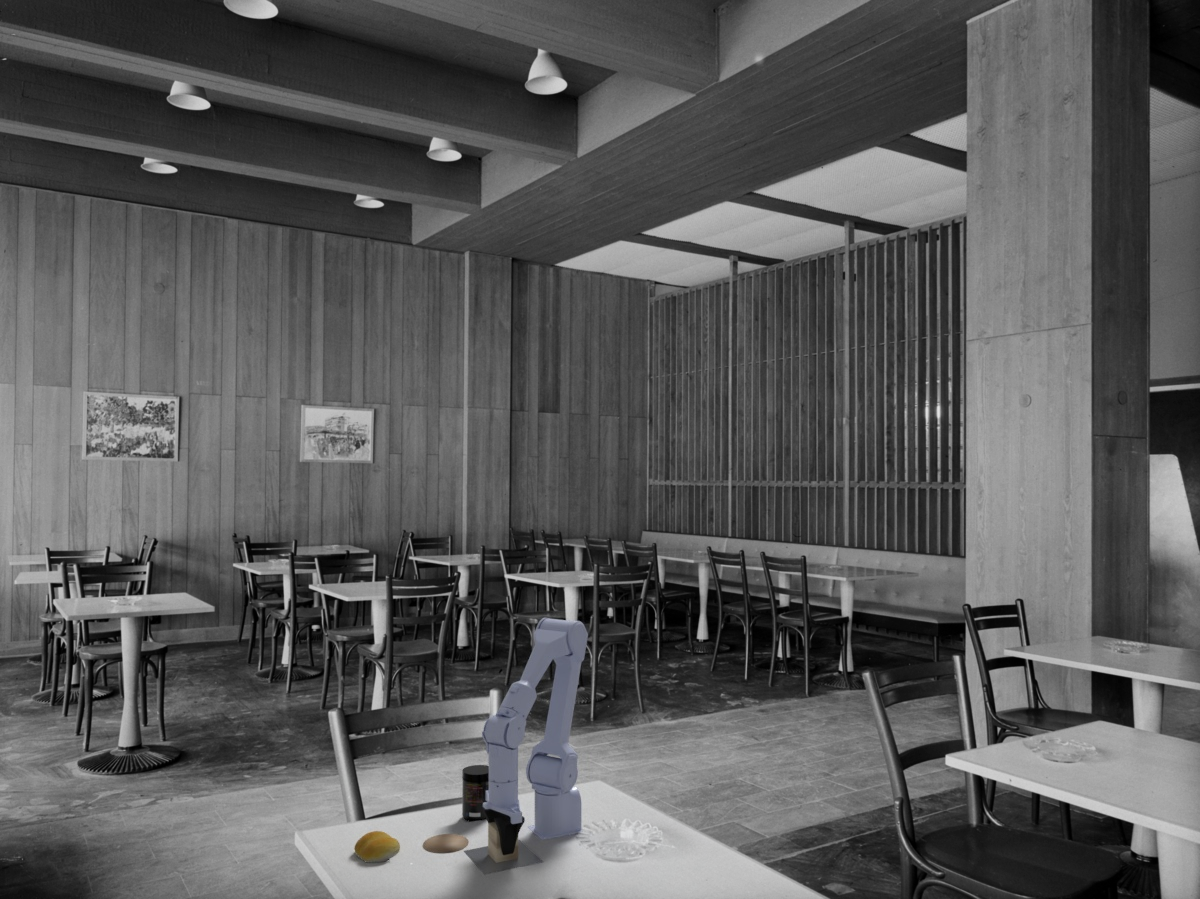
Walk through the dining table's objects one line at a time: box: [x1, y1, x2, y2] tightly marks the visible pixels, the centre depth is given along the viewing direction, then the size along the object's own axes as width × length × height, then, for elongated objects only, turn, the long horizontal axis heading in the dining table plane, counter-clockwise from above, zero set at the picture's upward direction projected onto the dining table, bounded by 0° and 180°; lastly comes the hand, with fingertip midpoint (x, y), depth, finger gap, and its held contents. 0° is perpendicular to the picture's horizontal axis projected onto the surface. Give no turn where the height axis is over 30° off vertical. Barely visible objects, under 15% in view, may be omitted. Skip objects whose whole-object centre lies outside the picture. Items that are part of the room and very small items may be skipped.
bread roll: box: [354, 830, 401, 863], centre depth 180 cm, size 8×9×4 cm
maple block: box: [487, 822, 519, 863], centre depth 178 cm, size 4×4×6 cm
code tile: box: [463, 839, 545, 875], centre depth 177 cm, size 12×12×1 cm
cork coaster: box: [422, 833, 470, 854], centre depth 184 cm, size 9×9×1 cm
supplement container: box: [461, 764, 489, 823], centre depth 199 cm, size 7×7×10 cm
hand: (503, 848), depth 177 cm, fingers closed on maple block, 4 cm apart
